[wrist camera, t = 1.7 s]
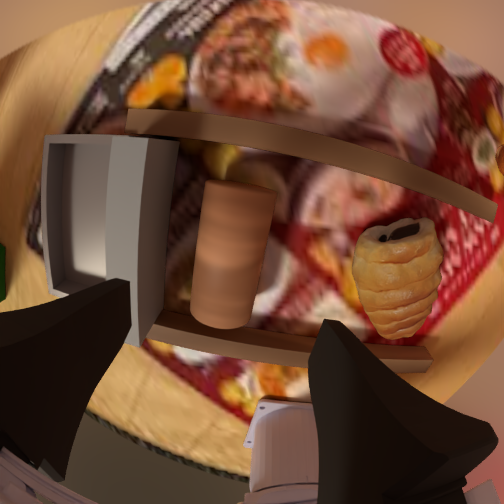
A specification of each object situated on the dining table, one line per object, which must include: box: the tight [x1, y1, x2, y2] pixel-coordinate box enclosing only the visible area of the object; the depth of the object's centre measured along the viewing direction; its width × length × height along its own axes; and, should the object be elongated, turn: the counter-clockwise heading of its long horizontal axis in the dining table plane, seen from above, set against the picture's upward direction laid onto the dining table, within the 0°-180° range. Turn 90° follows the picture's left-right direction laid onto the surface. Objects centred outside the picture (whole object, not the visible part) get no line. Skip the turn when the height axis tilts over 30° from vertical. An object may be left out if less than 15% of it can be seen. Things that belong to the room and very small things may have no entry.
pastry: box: [352, 217, 444, 340], centre depth 17 cm, size 9×7×4 cm
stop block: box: [105, 136, 180, 347], centre depth 16 cm, size 12×2×5 cm, turn 169°
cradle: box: [41, 134, 146, 298], centre depth 17 cm, size 12×7×2 cm, turn 169°
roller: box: [190, 180, 277, 329], centre depth 16 cm, size 8×4×4 cm, turn 169°
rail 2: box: [145, 310, 433, 373], centre depth 20 cm, size 2×26×2 cm, turn 80°
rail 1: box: [125, 109, 498, 223], centre depth 15 cm, size 2×26×2 cm, turn 80°
